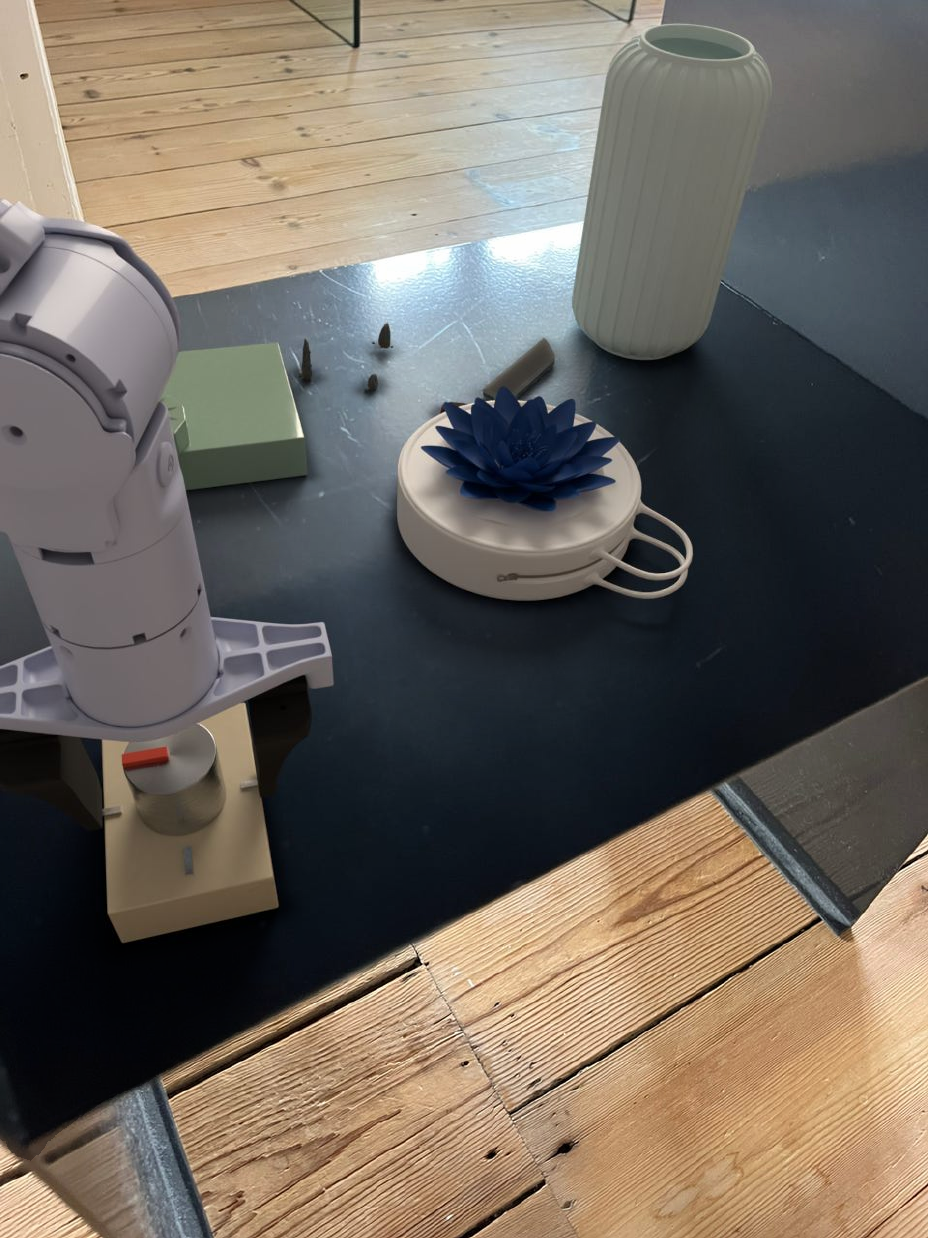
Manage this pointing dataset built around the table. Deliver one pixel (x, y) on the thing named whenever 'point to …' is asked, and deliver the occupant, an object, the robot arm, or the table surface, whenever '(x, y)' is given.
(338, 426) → the table surface
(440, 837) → the table surface
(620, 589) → the round zippered pouch
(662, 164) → the vase
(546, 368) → the knife
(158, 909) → the beige rotary knob box
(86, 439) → the robot arm
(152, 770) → the dial
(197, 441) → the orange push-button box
